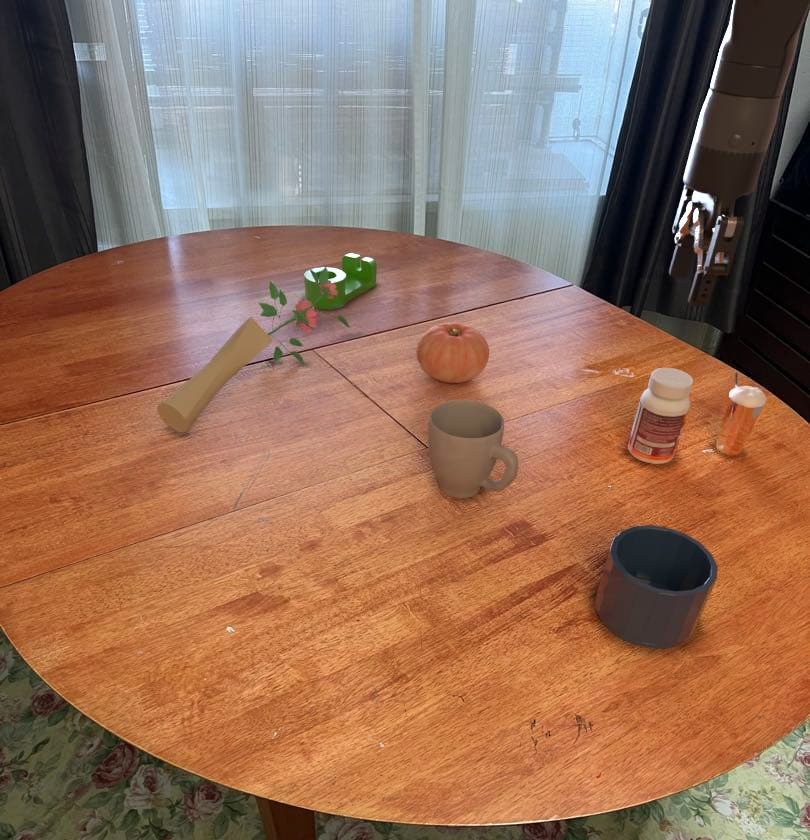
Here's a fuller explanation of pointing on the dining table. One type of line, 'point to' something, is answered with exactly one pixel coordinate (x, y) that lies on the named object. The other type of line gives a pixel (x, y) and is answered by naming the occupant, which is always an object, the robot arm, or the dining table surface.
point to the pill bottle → (661, 416)
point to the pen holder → (655, 586)
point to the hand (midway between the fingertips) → (686, 290)
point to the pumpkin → (452, 352)
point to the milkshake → (739, 417)
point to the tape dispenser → (342, 281)
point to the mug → (468, 448)
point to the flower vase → (240, 356)
